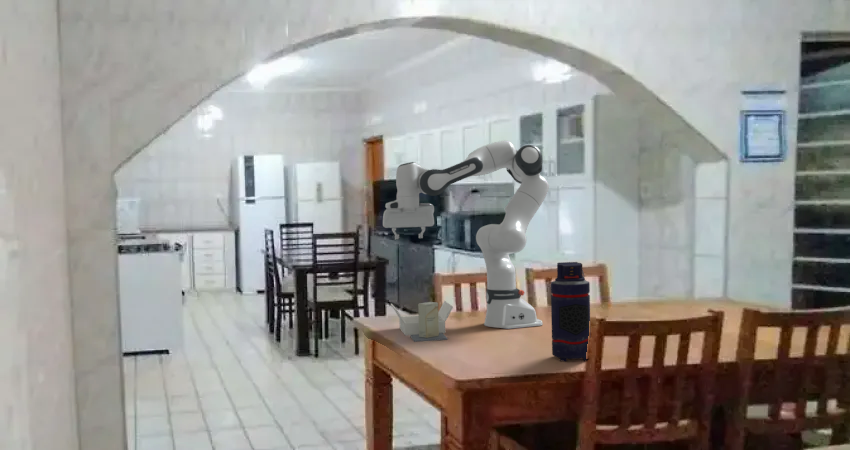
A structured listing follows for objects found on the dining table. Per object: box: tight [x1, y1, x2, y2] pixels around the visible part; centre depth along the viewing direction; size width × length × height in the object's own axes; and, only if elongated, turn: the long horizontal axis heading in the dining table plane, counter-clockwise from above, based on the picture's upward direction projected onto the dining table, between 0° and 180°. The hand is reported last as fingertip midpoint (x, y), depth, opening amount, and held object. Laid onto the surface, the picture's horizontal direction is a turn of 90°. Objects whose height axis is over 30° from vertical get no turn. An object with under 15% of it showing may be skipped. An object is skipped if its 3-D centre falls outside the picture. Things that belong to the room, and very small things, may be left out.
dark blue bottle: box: [550, 261, 591, 363], centre depth 251 cm, size 14×12×30 cm
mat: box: [409, 333, 448, 343], centre depth 290 cm, size 12×10×1 cm
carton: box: [390, 300, 454, 336], centre depth 304 cm, size 22×15×10 cm
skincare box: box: [417, 301, 439, 338], centre depth 289 cm, size 6×4×12 cm
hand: (408, 238), depth 316 cm, fingers open, 8 cm apart
